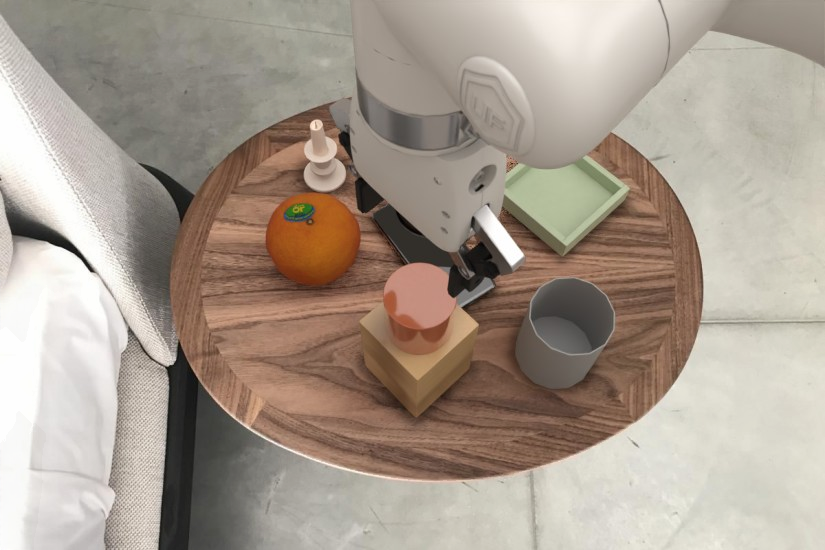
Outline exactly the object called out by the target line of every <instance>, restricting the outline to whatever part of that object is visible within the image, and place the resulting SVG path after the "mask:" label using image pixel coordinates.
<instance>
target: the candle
mask: <svg viewBox="0 0 825 550" xmlns="http://www.w3.org/2000/svg"><path fill="white" fill-rule="evenodd" d="M309 133H310V139H309V140H308V141H306V143H305V144H304V148H303V152H304V153H303V154H304V155H305V157H306V158H307V159H308V160H309V161H310V162H309V163H307V165H306V166H305V168H304V171H303V179H304V182H305V184H306V186H307V187H308V188H309V189H310V190H312V191H314V192H315V193H323V194H329V193H332V192H335V191H337V190H338V189H340V188H341V187H342V186H343V185H344V183H345V182H346V178H347V170H346V167H345V165H344V163H342V161H340V160H339V159H338V158H335V156H336V154H337V152H338V146H337V144H336V142H335V141H334V139H332V138H331V137H328V136H326V133H325V128H324V125H323V121H322V120H321V119H314V120H312V121H311V122H310V124H309Z"/></svg>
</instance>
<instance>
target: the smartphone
mask: <svg viewBox="0 0 825 550" xmlns="http://www.w3.org/2000/svg"><path fill="white" fill-rule="evenodd" d="M371 220H372V222H373V223H374V224H375V226H376V227H377V228H378V230H379V231H380V233H381V234H382V235H383V236H384V238H385V239H386V240H387V241H388V243H389V245H390V246H392V248H393V250H394V251H395V252H396V254H397V255H398V256H399V258H400V259H401V261H402V262H403V263H404V266H405V265H408V264H411V263H428V264H432V265H435V266H437V267H439V268H441V269H442V270H444V271H445V272H446V273H447V274H448V275H449V272H450V268H451V267H452V266H453V265H454V264H455V263H454V261H453V259H452V257H451V255H450V253H449V252H447V251H444V250H442V249H440V248H439V247H438V246H436V245H435V244H434V243H433V242H431V241H430V240H429V239H428V238H427V237H426V236H424V235H423V234H422V233H421V232H420V231H419V230H418V229H417V228H416V227H414V226H413V225H412V224H411V223H410V222H409V221H408V220H407V219H406V218H404V217H403V216H402V215H401V214H400V213H399V212H398V211H397V210H396V209H395V208H394V207H392V206H391V205H390V204H389V203H387V204H385V205H384V206H382V207H380V208H378V209H376V210H375V211H374V212H372V214H371ZM462 246H463V248H464V250H465V252H466V253H468V252H469V251H470V250H471V249H470V248H469V247H468V246H467V244H466V242H465V243H464V244H463V245H462ZM496 283H497V282H496V281H495V279H490V278H486V277H484V279H483V281H482V282H481V283H480V285H479V286H477V287H476V288H475V289H474V290H473V291H471V292H468V291H467V290H466V289H464V290H463V291H462V292H461V293H460V294H459V295H458V296H457V304H458V305H459V306H460V307H461V308H462V309H463V310H464V309H465V308H467V307H468V306H470V305H472V304H473V303H475V302H477V301H478V300H480V299H482V298H483V297H485V296H486V295H488V294H490V293H491V292H493V291H494V290H495V289H496V287H497V285H496Z"/></svg>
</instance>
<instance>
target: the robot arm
mask: <svg viewBox="0 0 825 550" xmlns="http://www.w3.org/2000/svg"><path fill="white" fill-rule="evenodd" d="M349 6H350V18H351V19H350V20H351V31H352V32H351V33H352V43H353V44H352V45H353V56H354V70H355V71H354V72H355V79H354V84H353V87H352V93H351V99H349V98H347V97H341V98H340V99H338V100H336V101H335V102H334V103H332V104H331V105H330V106H329V107H328V111H329V114H330V115H331V118H332V120H333V122H334V125H335V127H336V129H337V130H339V131H340V132H339V134H337V137H338V143H339V145H340V146H341V147H343V149H344V150H345V153H346V154H347V155H348V157H349V159H350V160H351V161H350V162H348V164H347V170H348V171H349V172H350V174H351V175H352V176H353V177H354V178H355V179H356V180H354V189H355V197H356V208H357V210H358V211H359V213H362V214H368V213H369V212H371V211H372V210H373V209H374V208H376V207H377V206H378V205H380V204H381V203H383V201H386V202H387V204H390V205H391V206H392V207H394V208H395V209H396V210H397V211H398V212H399V213H400V214H401V215H402V216H403V217H404V218H406V219H407V220H408V221H409V222H410V223H411V224H412V225H413V226H414V227H416V228H417V229H418V230H419V231H420V232H421V233H422V234H423V235H424V236H426V237H427V238H428V239H429V240H430V241H431V242H433V243H434V244H435V245H436V246H438V247H439V248H440V249H442V250H444V251H447V252H449V253H450V255H451V257H452V259H453V261H454V263H455V264H454V265H453V266H452V267H451V268H450V272H449V280H448V287H447V291H448V294H449V295H450V296H451V297H452V298H455V297H456V296H458V295H459V294H460V293H461V292H462V291H463V290H464V289H466V290H467V291H468V292H471V291H473V290H474V289H475V288H476V287H477V286H479V285H480V283H481V282H482V281H483V279H484V277H486V278H490V279H493V280H495V279H496V278H498V277H499V276H500V277H504V276H508V275H512V274H513V273H514V272H516V270H518V269H519V268H520V267H521V266H522V265H523V264H525V263H526V261H527V257H526V256H525V254H524V253H523V251H522V250H521V248H520V247H519V246H518V245H517V243H516V242H515V241H514V239H513V238H512V236H511V235H510V234H509V232H508V231H507V230H506V228H505V227H504V225H503V224H502V222H501V221H500V219H498V218H499V217H500V215H501V212H502V209H503V207H502V203H503V198H504V190H505V181H506V174H507V165H508V162H507V161H508V159H507V158H508V157H509V158H511V159H512V160H514V161H516V162H517V163H518V164H519V163H521V164H524V165H526V166H529V167H533V168H537V169H558V168H562V167H565V166H568V165H570V164H573V163H575V162H577V161H578V160H580V159H582V158H583V157H585V156H586V155H588V154H590V153H591V152H592V151H593V150H594V149H596V148H597V147H598V146H599V145H600V144H601V143H602V142H603V141H604V140H605V139H606V138H607V137H608V136H609V135H610V134H612V132H613V131H614V130H615V129H616V128H617V126H618V125H619V124H620V123H621V122H623V120H624V119H625V118H626V117H627V116H628V115H629V114H630V113H631V112H632V110H634V109H635V108H636V106H638V105H639V103H640V102H642V100H643V99H644V98H645V97H646V96H647V95H648V94H649V93H650V92H651V91H652V90H653V88H655V87H656V86H657V85H658V84H659V83H660V82H661V81H662V80H663V78H665V77H666V76H667V74H669V72H671V70H673V68H674V67H675V66H676V65H677V64H678V63H679V62H680V61H681V60H682V59H683V57H684V56H685V55H686V54H688V52H689V51H690V50H691V49H692V48H693V47H694V46H695V45H696V44H697V43H698V42H699V41H700V40H701V39H702V38H703V37H705V35H707V33H708V32H715V33H721V34H726V35H729V36H733V37H738V38H741V39H745V40H750V41H754V42H757V43H761V44H764V45H767V46H771V47H775V48H777V49H778V48H779V49H782V50H785V51H787V52H790V53H793V54H796V55H798V56H801V57H803V58H805V59H807V60H809V61H811V62H813V63H816V64H817V65H819V66H821V67H822V68H824V69H825V0H349ZM507 156H508V157H507ZM473 237H474V240H475V241H476V245H475V246H474V247H472V248H471V249H470V251H469V252H468V253H466V252H465V250H464V248H463V246H462V245H463V244H464V243H465V244H466V242H468V241H469V240H470V239H472V238H473Z"/></svg>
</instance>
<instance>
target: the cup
mask: <svg viewBox="0 0 825 550" xmlns="http://www.w3.org/2000/svg"><path fill="white" fill-rule="evenodd" d="M615 331H616V312H615V309H614V307H613V304H612V303H611V300H610V298H609V296H608V295H607V294H606V293H605V292H604V291H602V290H601V289H600V288H599V287H598V286H597V285H596V284H594V283H593V282H590V281H587V280H585V279H582V278H579V277H576V276H568V277H567V276H565V277H555V278H553V279H551V280H549V281H547V282H546V283H544V284H542V285H540V286H539V287H538V289H537V290H536V292H535V293H534V294H533V296H532V298H531V299H530V300H529V304H528V306H527V309H526V312H525V315H524V317H523V320H522V324H521V326H520V329H519V332H518V334H517V337H516V342H515V352H514V353H515V354H514V356H515V358H516V361H517V364H518V365H519V368H520V371H521V372H522V373H523V374H524V375H525V376H526V377H527V378H528V379H529V380H530V381H531V382H533V384H536V385H538V386H541V387H543V388H546V389H549V390H562V389H569V388H572V387H573V386H574V385H576V384H578V383H580V382H581V381H583V380H584V379H585V377H586V376H587V374H588V373H589V372H590V370H591V368H592V367H593V365H594V363H595V362H596V361H597V359H598V357H599V356H600V355H601V353H602V351H603V350H604V348H605V347H606V345H607V344H608V343H609V340H610V339H611V337H612V335H613V334H614V332H615Z"/></svg>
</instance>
